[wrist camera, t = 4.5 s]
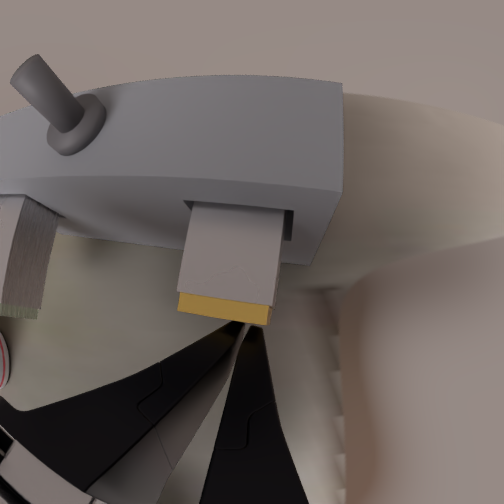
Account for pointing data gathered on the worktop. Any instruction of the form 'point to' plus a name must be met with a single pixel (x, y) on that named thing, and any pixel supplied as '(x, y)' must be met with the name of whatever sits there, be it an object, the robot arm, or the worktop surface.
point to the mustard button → (232, 261)
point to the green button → (24, 253)
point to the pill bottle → (3, 362)
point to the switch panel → (176, 153)
